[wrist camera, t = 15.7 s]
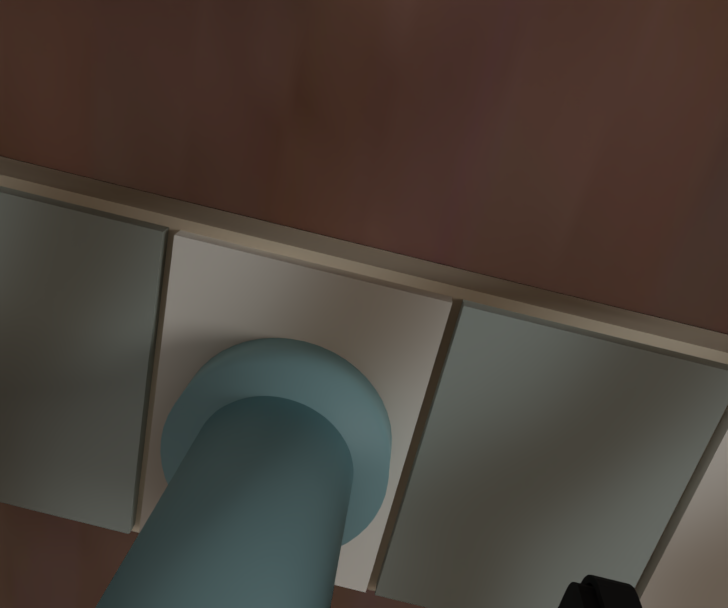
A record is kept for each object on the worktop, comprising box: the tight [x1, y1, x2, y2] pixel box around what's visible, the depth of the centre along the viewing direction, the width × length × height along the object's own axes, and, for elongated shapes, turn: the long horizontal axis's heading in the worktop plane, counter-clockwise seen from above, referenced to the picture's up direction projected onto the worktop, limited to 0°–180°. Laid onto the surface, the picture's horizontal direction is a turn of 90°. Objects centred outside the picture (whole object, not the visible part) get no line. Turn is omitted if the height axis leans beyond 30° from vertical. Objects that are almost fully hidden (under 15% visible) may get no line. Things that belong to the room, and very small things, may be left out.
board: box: [0, 156, 728, 608], centre depth 13 cm, size 20×7×1 cm, turn 77°
